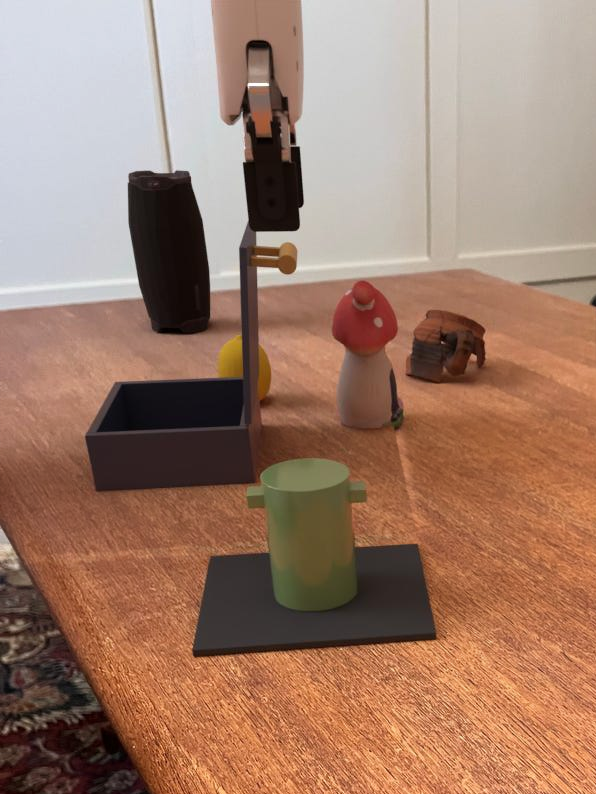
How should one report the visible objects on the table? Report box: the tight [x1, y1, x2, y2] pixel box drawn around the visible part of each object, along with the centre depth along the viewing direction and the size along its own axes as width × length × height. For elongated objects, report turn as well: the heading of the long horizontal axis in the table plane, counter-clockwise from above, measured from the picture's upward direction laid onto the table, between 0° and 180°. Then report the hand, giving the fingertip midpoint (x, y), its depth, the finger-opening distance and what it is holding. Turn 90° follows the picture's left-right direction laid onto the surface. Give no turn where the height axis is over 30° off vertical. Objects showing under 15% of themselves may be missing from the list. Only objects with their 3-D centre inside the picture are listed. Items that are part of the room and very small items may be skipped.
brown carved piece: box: [404, 309, 487, 384], centre depth 120 cm, size 12×10×8 cm
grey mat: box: [191, 543, 437, 657], centre depth 73 cm, size 16×14×1 cm
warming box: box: [84, 377, 263, 492], centre depth 94 cm, size 14×16×6 cm
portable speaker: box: [127, 170, 211, 334], centre depth 135 cm, size 9×9×20 cm
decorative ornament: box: [330, 280, 405, 430], centre depth 101 cm, size 9×6×15 cm
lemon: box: [217, 333, 272, 402], centre depth 108 cm, size 6×6×8 cm
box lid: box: [238, 220, 298, 424], centre depth 90 cm, size 14×16×4 cm
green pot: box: [245, 457, 368, 612], centre depth 71 cm, size 8×6×9 cm
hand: (278, 218), depth 69 cm, fingers open, 9 cm apart
